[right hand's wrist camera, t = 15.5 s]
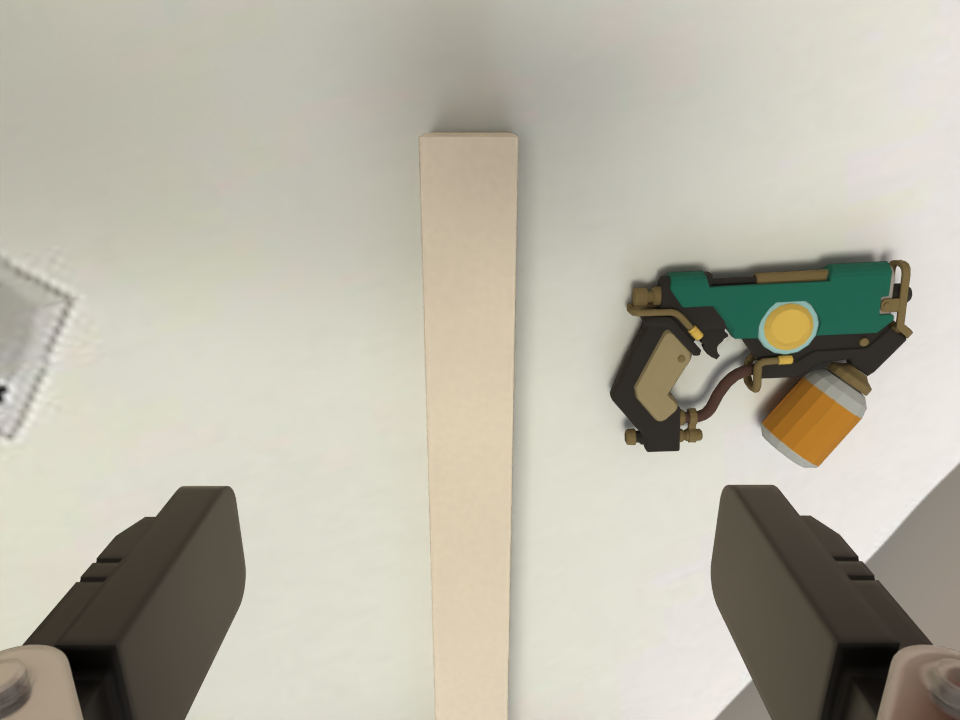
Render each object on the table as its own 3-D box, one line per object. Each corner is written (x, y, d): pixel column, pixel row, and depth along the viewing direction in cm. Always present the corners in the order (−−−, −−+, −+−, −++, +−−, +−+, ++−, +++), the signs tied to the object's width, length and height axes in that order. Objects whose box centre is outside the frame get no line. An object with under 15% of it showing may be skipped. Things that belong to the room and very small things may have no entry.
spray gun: (587, 423, 46) (651, 201, 42) (825, 476, 46) (915, 262, 42) (593, 449, 42) (665, 207, 38) (855, 508, 42) (957, 274, 38)
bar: (430, 132, 39) (418, 136, 32) (511, 132, 39) (518, 136, 32) (446, 832, 59) (441, 931, 52) (500, 832, 59) (503, 931, 52)
